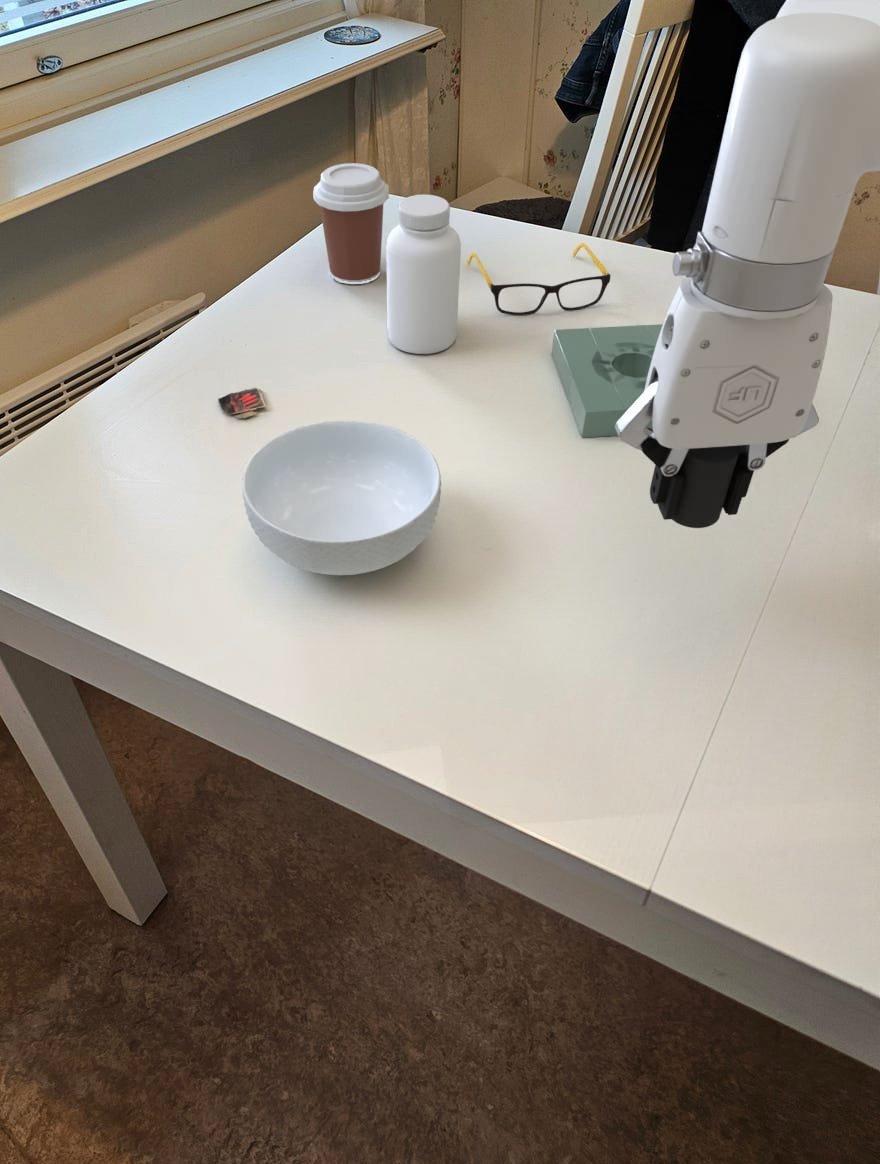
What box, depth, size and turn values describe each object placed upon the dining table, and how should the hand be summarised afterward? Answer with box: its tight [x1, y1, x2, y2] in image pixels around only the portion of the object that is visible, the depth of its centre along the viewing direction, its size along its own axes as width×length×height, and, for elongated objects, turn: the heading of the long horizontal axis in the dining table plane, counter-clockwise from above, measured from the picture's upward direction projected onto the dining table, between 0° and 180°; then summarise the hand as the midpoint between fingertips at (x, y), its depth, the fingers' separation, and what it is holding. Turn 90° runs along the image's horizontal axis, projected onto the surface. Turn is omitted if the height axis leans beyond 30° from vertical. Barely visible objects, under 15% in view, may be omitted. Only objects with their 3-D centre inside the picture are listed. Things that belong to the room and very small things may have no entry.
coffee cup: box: [312, 162, 390, 282], centre depth 110 cm, size 9×9×12 cm
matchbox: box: [217, 387, 266, 420], centre depth 94 cm, size 5×5×1 cm
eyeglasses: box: [466, 243, 611, 316], centre depth 110 cm, size 14×14×4 cm
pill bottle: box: [385, 194, 462, 355], centre depth 98 cm, size 8×8×15 cm
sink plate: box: [551, 323, 663, 439], centre depth 94 cm, size 18×16×3 cm
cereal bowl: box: [241, 419, 442, 576], centre depth 77 cm, size 17×17×7 cm
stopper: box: [671, 445, 740, 529], centre depth 65 cm, size 4×4×6 cm
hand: (694, 503), depth 67 cm, fingers closed on stopper, 4 cm apart
